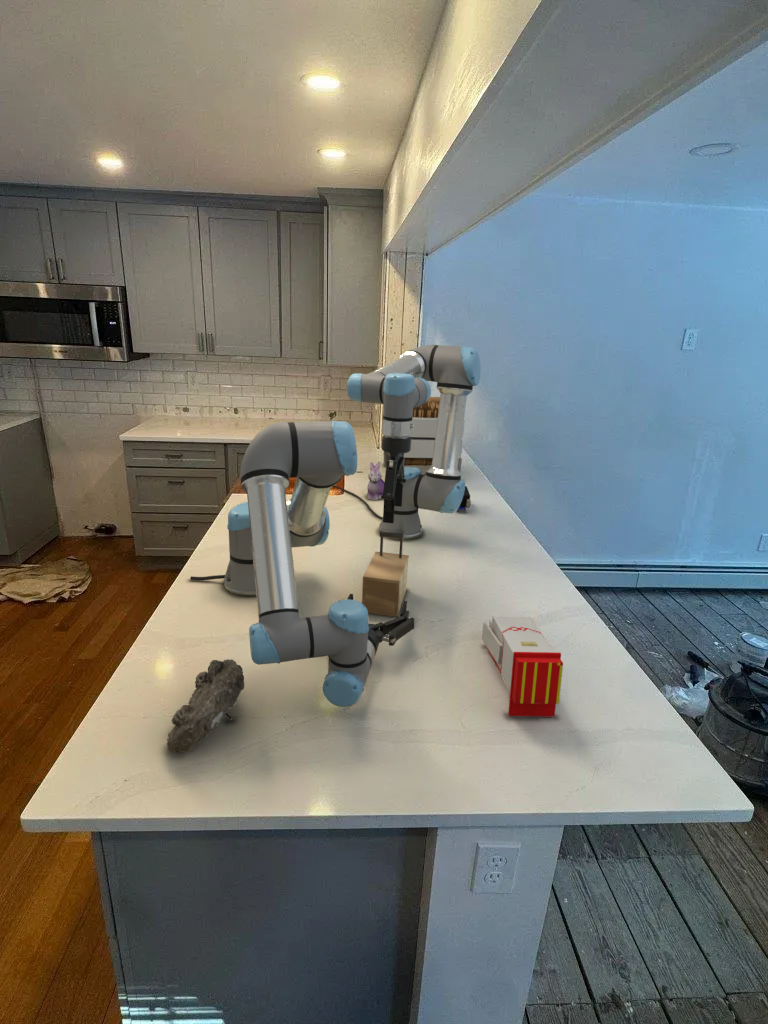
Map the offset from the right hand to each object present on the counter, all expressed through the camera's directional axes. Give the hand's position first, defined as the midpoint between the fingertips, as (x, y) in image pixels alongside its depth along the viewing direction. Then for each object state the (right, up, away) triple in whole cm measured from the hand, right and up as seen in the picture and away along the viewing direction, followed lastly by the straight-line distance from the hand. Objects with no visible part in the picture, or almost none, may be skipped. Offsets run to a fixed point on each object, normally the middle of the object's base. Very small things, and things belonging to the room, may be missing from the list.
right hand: (392, 513), depth 152 cm
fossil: (-35, -39, -44) cm, 68 cm away
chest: (-2, -24, +2) cm, 24 cm away
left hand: (-4, -22, -12) cm, 25 cm away
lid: (-2, -15, -1) cm, 15 cm away
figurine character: (+28, +2, +77) cm, 82 cm away
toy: (+26, -35, -27) cm, 52 cm away
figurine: (-6, +7, +85) cm, 86 cm away
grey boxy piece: (+15, +19, +123) cm, 125 cm away
